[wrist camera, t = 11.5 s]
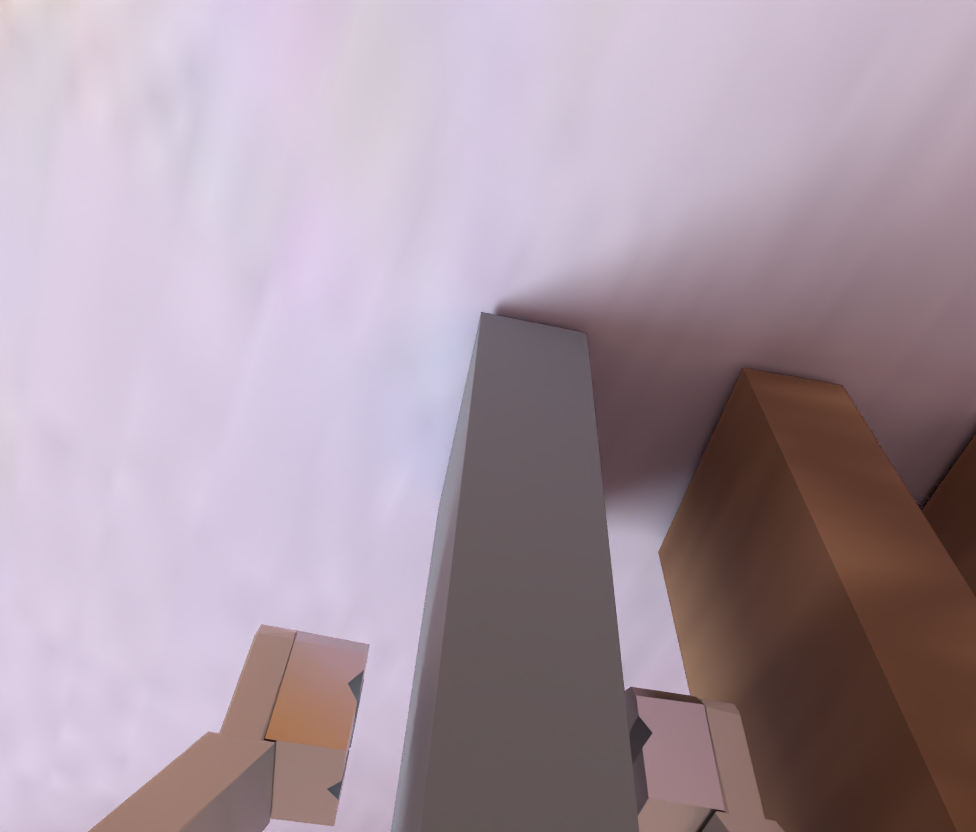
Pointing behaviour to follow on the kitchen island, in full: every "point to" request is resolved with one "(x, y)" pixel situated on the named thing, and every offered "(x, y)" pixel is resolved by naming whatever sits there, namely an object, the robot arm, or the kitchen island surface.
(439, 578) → the slate domino
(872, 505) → the domino
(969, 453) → the domino
